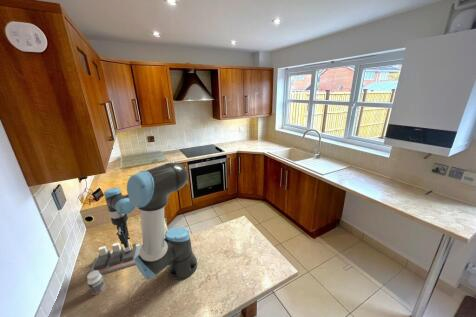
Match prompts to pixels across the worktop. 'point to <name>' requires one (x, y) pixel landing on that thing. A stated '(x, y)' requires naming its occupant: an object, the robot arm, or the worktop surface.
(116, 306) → the worktop surface
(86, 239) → the worktop surface
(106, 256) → the panel
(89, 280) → the pill bottle
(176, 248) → the robot arm
